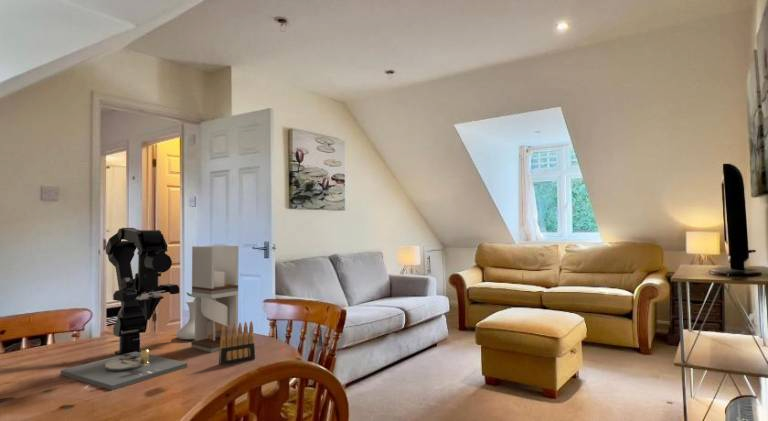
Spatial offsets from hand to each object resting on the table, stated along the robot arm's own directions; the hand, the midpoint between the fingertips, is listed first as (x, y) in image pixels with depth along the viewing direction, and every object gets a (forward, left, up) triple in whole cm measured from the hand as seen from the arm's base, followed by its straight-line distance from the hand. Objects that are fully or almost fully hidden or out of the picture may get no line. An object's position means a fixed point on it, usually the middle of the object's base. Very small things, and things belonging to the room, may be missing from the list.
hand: (147, 319), depth 143 cm
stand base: (+4, -9, -13) cm, 16 cm away
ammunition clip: (+26, +13, -13) cm, 32 cm away
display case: (+5, +22, -13) cm, 26 cm away
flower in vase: (-12, +27, -13) cm, 32 cm away
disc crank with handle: (+6, -9, -11) cm, 16 cm away
